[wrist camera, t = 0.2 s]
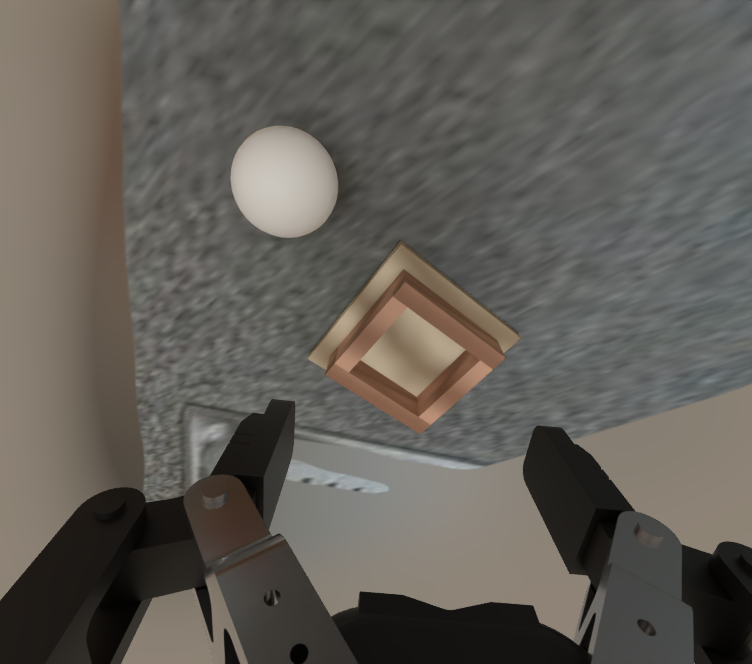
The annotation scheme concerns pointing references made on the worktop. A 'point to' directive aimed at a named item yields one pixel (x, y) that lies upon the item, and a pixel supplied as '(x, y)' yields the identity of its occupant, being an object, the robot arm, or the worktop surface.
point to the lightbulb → (284, 181)
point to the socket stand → (412, 341)
